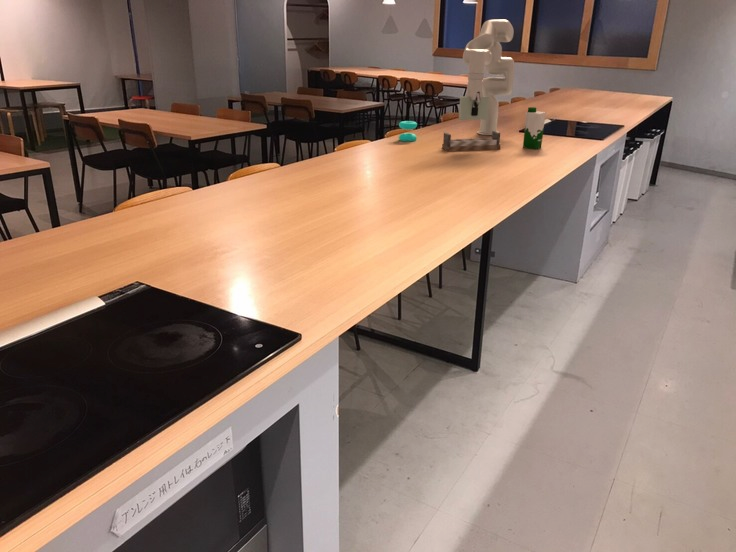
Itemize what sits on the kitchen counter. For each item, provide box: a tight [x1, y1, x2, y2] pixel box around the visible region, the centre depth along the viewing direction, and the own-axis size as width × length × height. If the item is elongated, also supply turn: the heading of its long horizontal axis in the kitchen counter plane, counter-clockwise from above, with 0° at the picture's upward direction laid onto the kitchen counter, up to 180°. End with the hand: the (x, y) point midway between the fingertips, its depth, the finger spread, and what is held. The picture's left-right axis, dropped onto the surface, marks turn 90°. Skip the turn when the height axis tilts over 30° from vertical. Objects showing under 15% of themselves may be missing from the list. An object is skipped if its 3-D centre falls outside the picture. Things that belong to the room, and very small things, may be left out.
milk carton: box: [522, 106, 547, 150], centre depth 298 cm, size 9×9×20 cm
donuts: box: [398, 120, 418, 142], centre depth 321 cm, size 10×10×10 cm
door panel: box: [458, 96, 489, 121], centre depth 292 cm, size 14×3×11 cm, turn 101°
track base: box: [441, 130, 501, 152], centre depth 298 cm, size 28×10×8 cm, turn 101°
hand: (473, 114), depth 293 cm, fingers closed on door panel, 3 cm apart
